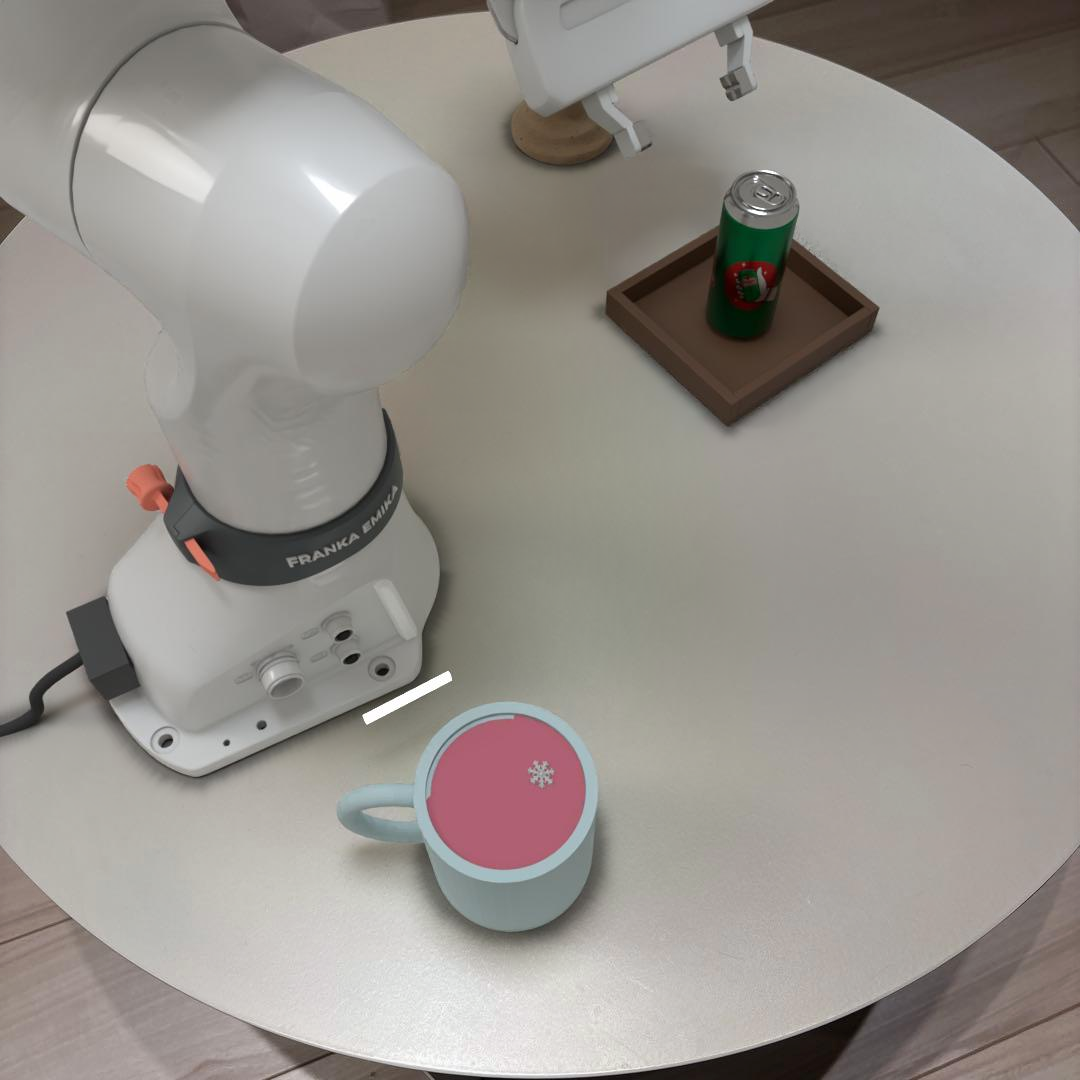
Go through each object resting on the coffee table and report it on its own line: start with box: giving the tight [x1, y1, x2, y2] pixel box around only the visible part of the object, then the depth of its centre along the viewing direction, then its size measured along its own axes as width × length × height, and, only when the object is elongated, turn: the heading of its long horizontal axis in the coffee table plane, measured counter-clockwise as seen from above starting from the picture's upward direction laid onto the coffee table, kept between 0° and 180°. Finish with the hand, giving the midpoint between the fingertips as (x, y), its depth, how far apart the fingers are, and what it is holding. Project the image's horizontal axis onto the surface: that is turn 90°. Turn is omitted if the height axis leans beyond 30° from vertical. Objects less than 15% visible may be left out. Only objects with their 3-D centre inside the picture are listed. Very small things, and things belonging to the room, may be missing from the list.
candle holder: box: [510, 100, 615, 166], centre depth 88 cm, size 9×9×20 cm
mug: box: [335, 701, 599, 933], centre depth 61 cm, size 14×9×10 cm
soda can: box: [706, 169, 800, 338], centre depth 80 cm, size 5×5×12 cm
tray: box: [605, 224, 880, 427], centre depth 85 cm, size 15×14×2 cm
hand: (692, 123), depth 77 cm, fingers open, 8 cm apart
